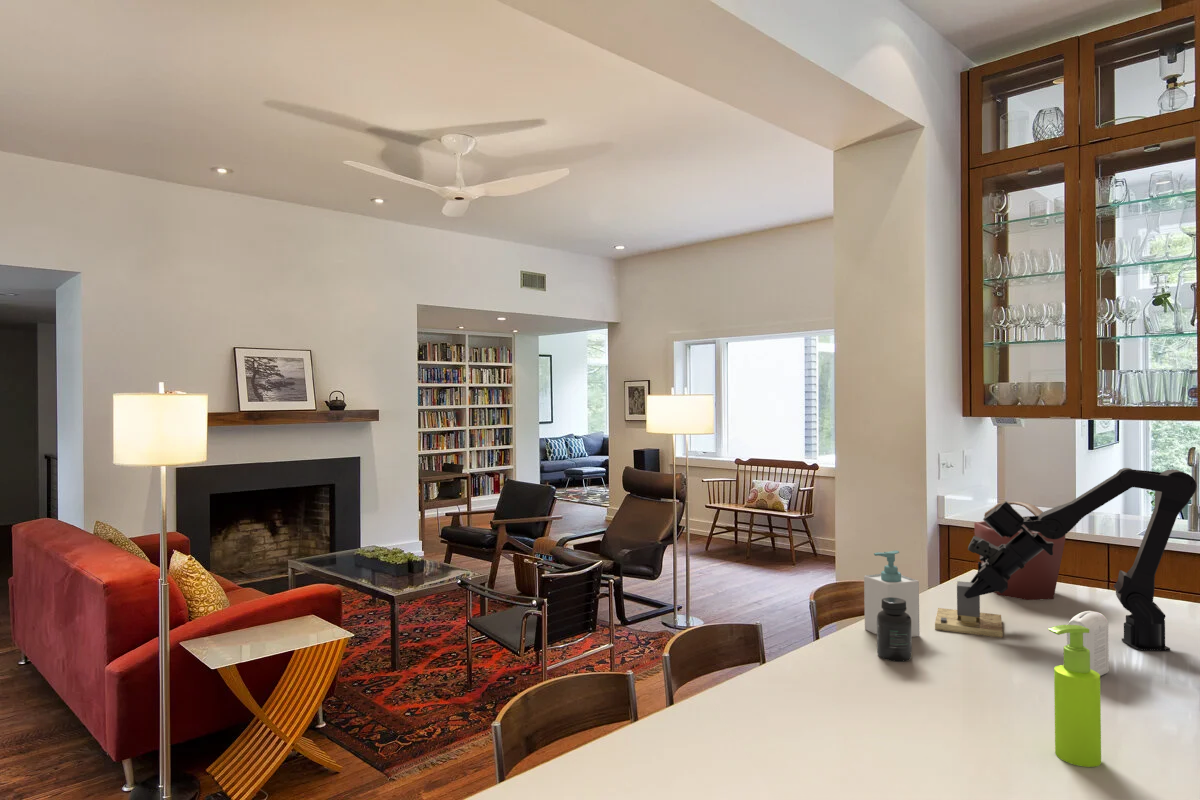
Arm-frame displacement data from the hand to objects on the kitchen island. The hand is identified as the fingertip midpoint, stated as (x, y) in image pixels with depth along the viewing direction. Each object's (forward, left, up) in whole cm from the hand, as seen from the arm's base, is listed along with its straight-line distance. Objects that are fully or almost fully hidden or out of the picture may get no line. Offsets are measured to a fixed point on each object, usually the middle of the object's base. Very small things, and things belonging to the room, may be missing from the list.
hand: (965, 594), depth 176 cm
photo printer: (-11, +31, -8) cm, 34 cm away
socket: (-1, 0, -7) cm, 7 cm away
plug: (-1, 0, -7) cm, 7 cm away
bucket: (-28, -32, -8) cm, 43 cm away
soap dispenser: (+9, +66, -8) cm, 67 cm away
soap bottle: (+19, +7, -8) cm, 22 cm away
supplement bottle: (+23, +23, -8) cm, 34 cm away
